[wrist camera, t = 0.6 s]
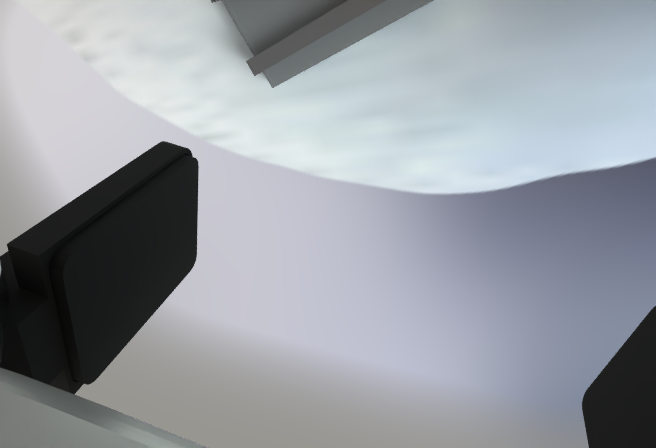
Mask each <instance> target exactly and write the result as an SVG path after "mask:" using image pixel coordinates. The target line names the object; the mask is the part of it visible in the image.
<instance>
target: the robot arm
mask: <svg viewBox="0 0 656 448" xmlns="http://www.w3.org/2000/svg"><path fill="white" fill-rule="evenodd" d="M197 212H198V161H197V159H196V158H194V157H192V153H191V151H190V150H189V149H188V148H184V147H181V146H178V145H175V144H172V143H168V142H164V141H163V142H160V143H158V144H157V145H155V146H154V147H152V148H151V149H149V150H148V151H146V152H145V153H143V154H142V155H140V156H139V157H137V158H136V159H134V160H133V161H131V162H130V163H128V164H127V165H125V166H124V167H122V168H121V169H119V170H118V171H116V172H115V173H113V174H112V175H110V176H109V177H107V178H106V179H104V180H103V181H101V182H100V183H98V184H97V185H96V186H94V187H92V188H91V189H89V190H88V191H86V192H85V193H83V194H82V195H80V196H79V197H77V198H76V199H74V200H73V201H71V202H70V203H68V204H67V205H65V206H64V207H62V208H61V209H59V210H58V211H56V212H54V213H53V214H51V215H50V216H49V217H47V218H45V219H44V220H42V221H41V222H40V223H38V224H37V225H35V226H33V227H32V228H30V229H29V230H27V231H26V232H24V233H23V234H21V235H20V236H18V237H17V238H15V239H14V240H13V241H11V242H9V243H8V244H7V247H8V250H9V251H8V252H6V253H5V254H3V255H2V256H0V448H208V447H206V446H203V445H201V444H198V443H196V442H193V441H191V440H188V439H186V438H183V437H181V436H178V435H176V434H173V433H171V432H168V431H166V430H163V429H161V428H158V427H155V426H153V425H151V424H148V423H146V422H143V421H140V420H138V419H135V418H133V417H131V416H128V415H125V414H123V413H121V412H118V411H116V410H113V409H110V408H108V407H105V406H103V405H100V404H97V403H95V402H92V401H90V400H87V399H84V398H82V397H79V396H77V395H74V394H75V393H76V392H77V391H78V390H79V388H80V387H81V386H82V385H83V384H91V383H92V382H94V381H95V380H96V379H97V378H98V377H99V376H100V374H101V373H102V372H103V371H104V370H105V369H106V368H107V366H108V365H109V364H110V363H111V362H112V361H113V360H114V358H115V357H116V356H117V355H118V354H119V353H120V352H121V350H122V349H123V348H124V347H125V346H126V345H127V343H128V342H129V341H130V340H131V339H132V338H133V337H134V335H135V334H136V333H137V332H138V331H139V330H140V329H141V327H142V326H143V325H144V324H145V323H146V322H147V320H148V319H149V318H150V317H151V316H152V315H153V313H154V312H155V311H156V310H157V309H158V308H159V307H160V305H161V304H162V303H163V302H164V301H165V300H166V298H167V297H168V296H169V295H170V294H171V293H172V292H173V291H174V289H175V288H176V287H177V286H178V285H179V284H180V282H181V281H182V280H183V279H184V278H185V277H186V275H187V274H188V273H189V272H190V271H191V269H192V268H193V266H194V264H195V261H196V256H197V214H198V213H197ZM582 410H583V416H584V421H585V427H586V433H587V439H588V444H589V448H656V306H655V307H654V308H653V309H652V310H651V311H650V312H649V313H648V315H647V316H646V317H645V318H644V320H643V321H642V322H641V323H640V325H639V326H638V327H637V329H636V330H635V331H634V332H633V333H632V335H631V336H630V337H629V338H628V339H627V341H626V342H625V343H624V344H623V346H622V347H621V348H620V349H619V351H618V352H617V353H616V355H615V356H614V357H613V358H612V359H611V361H610V362H609V363H608V364H607V365H606V367H605V368H604V369H603V371H602V372H601V373H600V374H599V375H598V377H597V378H596V379H595V380H594V382H593V383H592V384H591V385H590V387H589V388H588V389H587V390H586V392H585V394H584V397H583V401H582Z"/></svg>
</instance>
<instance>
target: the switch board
mask: <svg viewBox="0 0 656 448" xmlns="http://www.w3.org/2000/svg"><path fill="white" fill-rule="evenodd" d="M216 1H219V0H211V2H212V3H213V2H216ZM222 1H223V3H224V4H225V6H226V8H227V10H228V11H229V13H230V15H231V17H232V18H233V20H234V22H235V24H236V25H237V27H238V29H239V31H240V32H241V34H242V36H243V38H244V39H245V41H246V43H247V45H248V46H249V48H250V50H251V52H252V53H253V55H254V57H253V58H251V59H250V60H248V61H246V62H247V64H248V65H249V67H250V69H251V71H252V72H253V74H254V76H256V75H257V74H259V73H261V72H262V71H263V73H264V74H265V76H266V78H267V80H268V81H269V83H270V85H271V87H272V88H274V87H275V86H277V85H279V84H281V83H283V82H285V81H286V80H288V79H290V78H292V77H294V76H296V75H297V74H299V73H301V72H303V71H305V70H307V69H308V68H310V67H312V66H314V65H316V64H318V63H319V62H321V61H323V60H325V59H327V58H329V57H330V56H332V55H334V54H336V53H338V52H340V51H341V50H343V49H345V48H347V47H349V46H351V45H352V44H354V43H356V42H358V41H360V40H362V39H363V38H365V37H367V36H369V35H371V34H373V33H374V32H376V31H378V30H380V29H382V28H384V27H385V26H387V25H389V24H391V23H393V22H395V21H396V20H398V19H400V18H402V17H404V16H406V15H407V14H409V13H411V12H413V11H415V10H416V9H418V8H420V7H422V6H424V5H426V4H427V3H429V2H431V1H433V0H222Z"/></svg>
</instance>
